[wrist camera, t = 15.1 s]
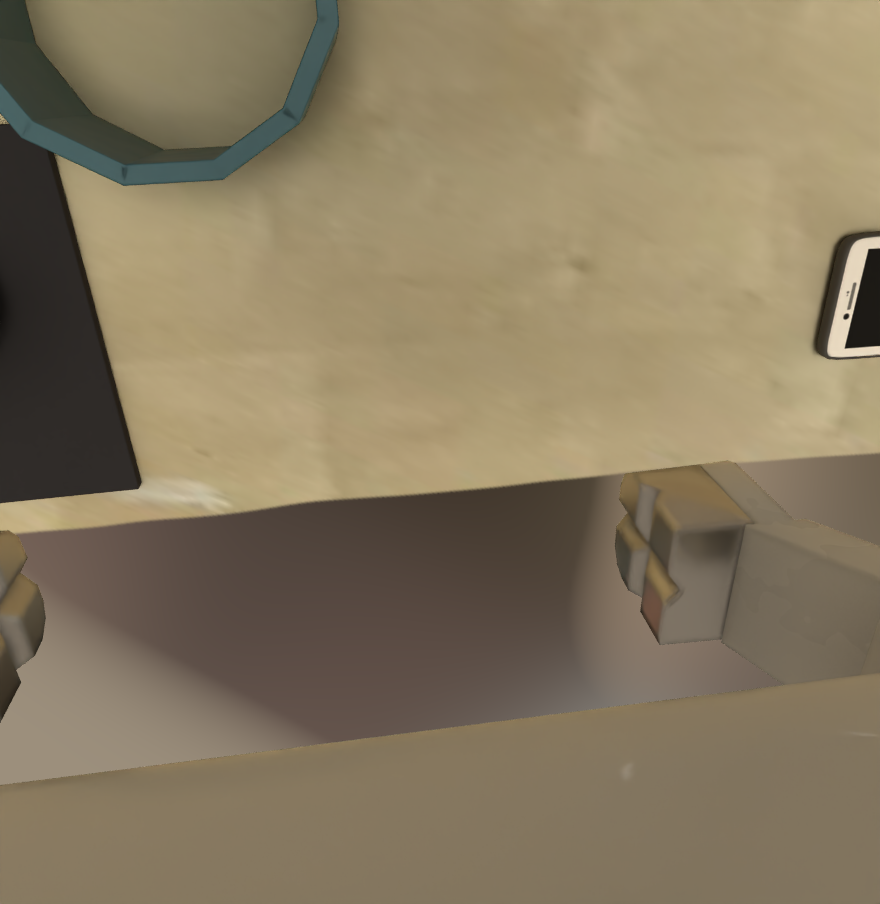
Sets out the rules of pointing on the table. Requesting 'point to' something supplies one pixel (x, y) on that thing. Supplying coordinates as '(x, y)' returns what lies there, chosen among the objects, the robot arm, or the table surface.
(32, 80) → the bucket
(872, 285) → the cell phone
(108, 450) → the mat
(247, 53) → the table surface
